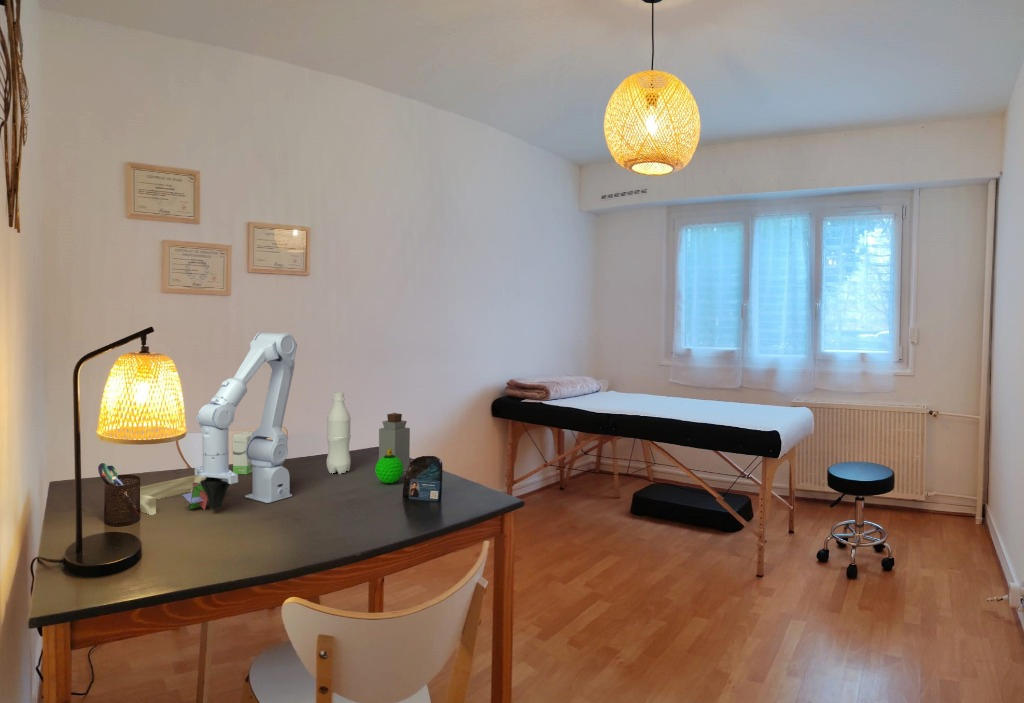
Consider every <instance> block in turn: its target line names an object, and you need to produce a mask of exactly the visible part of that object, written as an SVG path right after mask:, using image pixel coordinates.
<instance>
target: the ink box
mask: <svg viewBox="0 0 1024 703" xmlns="http://www.w3.org/2000/svg"><path fill="white" fill-rule="evenodd" d="M252 432H254V430H246V431H243V432H240V433H237V434H234V435H233V436H232V472H233V473H235V474H238V475H249V474H251V473H252V464H250V460H249V459H248V458H247V456H246V446H247V444H248V442H249V441H250V439H251V435H252Z"/></svg>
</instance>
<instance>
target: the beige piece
mask: <svg viewBox="0 0 1024 703" xmlns="http://www.w3.org/2000/svg"><path fill="white" fill-rule="evenodd" d="M205 479H206V477H199V475H198V476H197V475H195V474H193V475H188V476H184V477H180V478H179V477H178V478H176V479H175V478H174V479H170V480H166V481H161V482H156V483H152V484H147V485H142V486H139V487H140V508H141V512H140V513H142V512H143V514H145V513H147V514H146V515H148V514H149V516H154V514H155V515H157V500H156V499H158V500H161V498H162V499H166V498H169V497H173V496H178V495H182V493H183V494H186V493H185V492H187V493H191V488H192V485H193V483H194V482H195V483H198V482H200V481H202V480H205ZM189 489H190V490H189ZM165 497H166V498H165Z"/></svg>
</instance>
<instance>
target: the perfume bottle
mask: <svg viewBox="0 0 1024 703" xmlns="http://www.w3.org/2000/svg"><path fill="white" fill-rule="evenodd" d="M386 416H387V420H383V421H382V425H383V427H380V428H379V429H378V461H379V460H380V459H381V458H382V457H384V456H385V455H387V449H392V455H394V456H395V457H397V458H398V459H400V460H401V462H402V464H403V469H405V470H406V469H407V467H408V466H409V467H410V451H411V450H410V449H411V448H410V446H411V444H410V442H411V441H410V440H411V439H410V438H411V436H410V435H411V432H410V430H411V428H410V427H406V426H407V422H408V421H407V420H402V418H403V417H402V416H403V414H402V413H397V412H393V413H387V414H386Z"/></svg>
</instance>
